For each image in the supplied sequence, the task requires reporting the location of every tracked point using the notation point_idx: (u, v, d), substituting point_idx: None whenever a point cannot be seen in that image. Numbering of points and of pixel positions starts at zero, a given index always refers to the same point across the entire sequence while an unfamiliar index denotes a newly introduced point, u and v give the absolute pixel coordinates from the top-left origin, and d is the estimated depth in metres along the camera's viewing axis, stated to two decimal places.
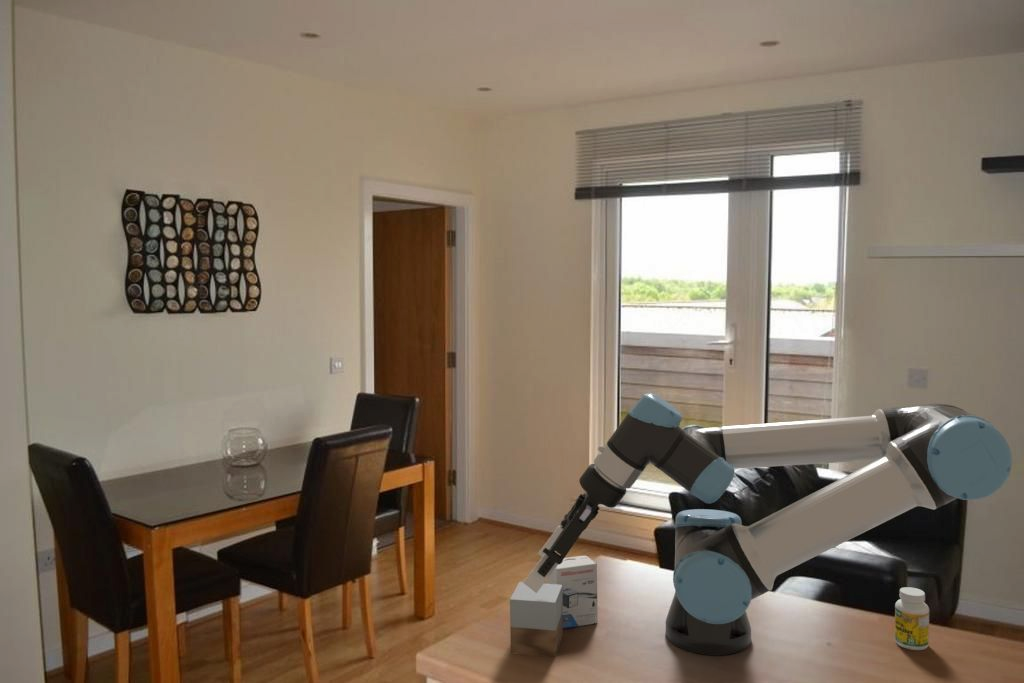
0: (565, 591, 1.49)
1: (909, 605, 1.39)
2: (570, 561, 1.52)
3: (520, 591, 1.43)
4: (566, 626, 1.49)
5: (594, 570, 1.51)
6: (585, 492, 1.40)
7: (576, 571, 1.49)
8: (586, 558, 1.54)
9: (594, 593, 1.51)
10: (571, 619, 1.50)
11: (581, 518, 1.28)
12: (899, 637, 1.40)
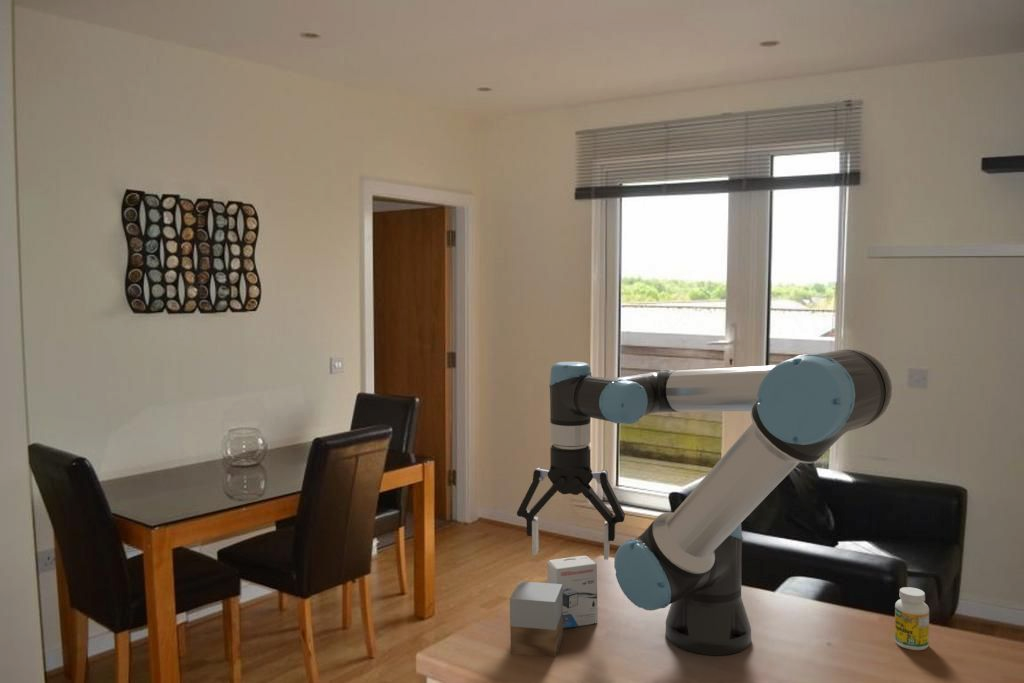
0: (565, 591, 1.49)
1: (908, 605, 1.39)
2: (570, 561, 1.52)
3: (520, 591, 1.43)
4: (566, 626, 1.49)
5: (594, 570, 1.51)
6: None
7: (576, 571, 1.49)
8: (586, 558, 1.54)
9: (594, 593, 1.51)
10: (571, 619, 1.50)
11: None
12: (899, 637, 1.40)
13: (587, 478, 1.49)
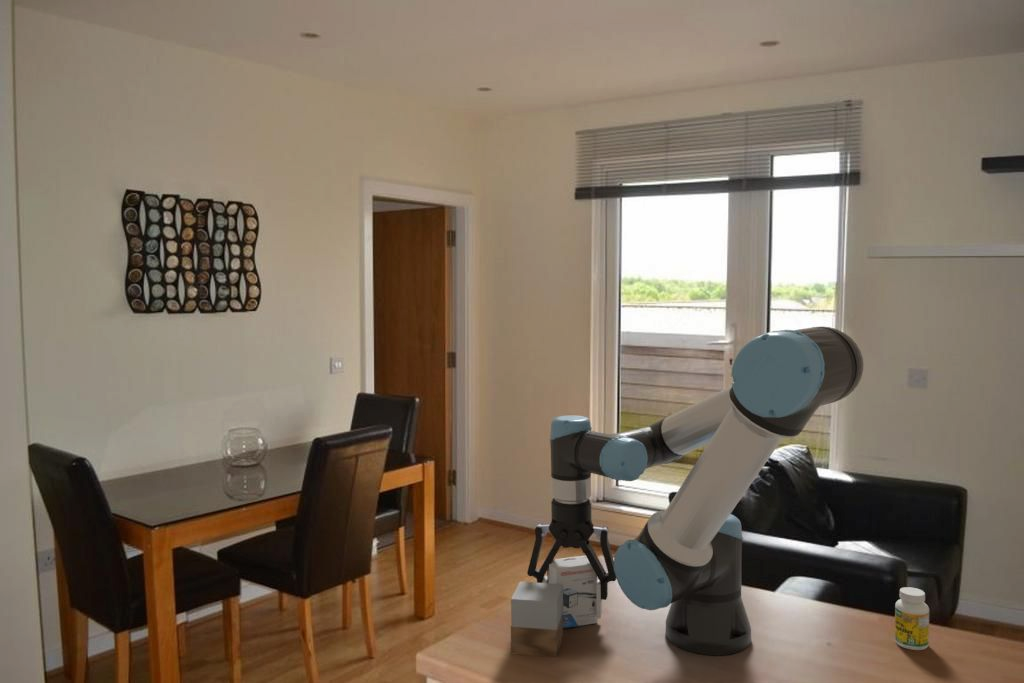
0: (565, 591, 1.49)
1: (909, 605, 1.39)
2: (570, 561, 1.52)
3: (521, 591, 1.43)
4: (566, 626, 1.49)
5: None
6: None
7: (576, 571, 1.49)
8: (586, 557, 1.54)
9: (594, 593, 1.51)
10: (571, 619, 1.50)
11: None
12: (899, 637, 1.40)
13: (588, 532, 1.49)
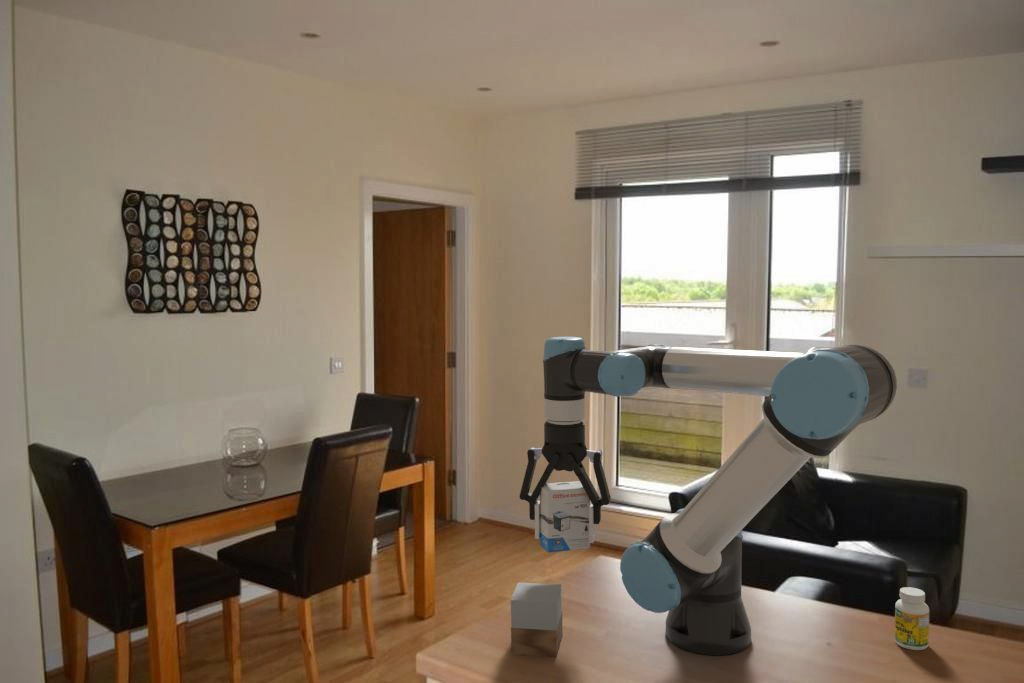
0: (557, 514, 1.46)
1: (909, 605, 1.39)
2: (563, 485, 1.49)
3: (520, 592, 1.42)
4: (558, 550, 1.47)
5: None
6: None
7: (568, 494, 1.47)
8: (580, 482, 1.51)
9: (587, 517, 1.48)
10: (563, 542, 1.47)
11: None
12: (899, 637, 1.40)
13: (581, 454, 1.47)
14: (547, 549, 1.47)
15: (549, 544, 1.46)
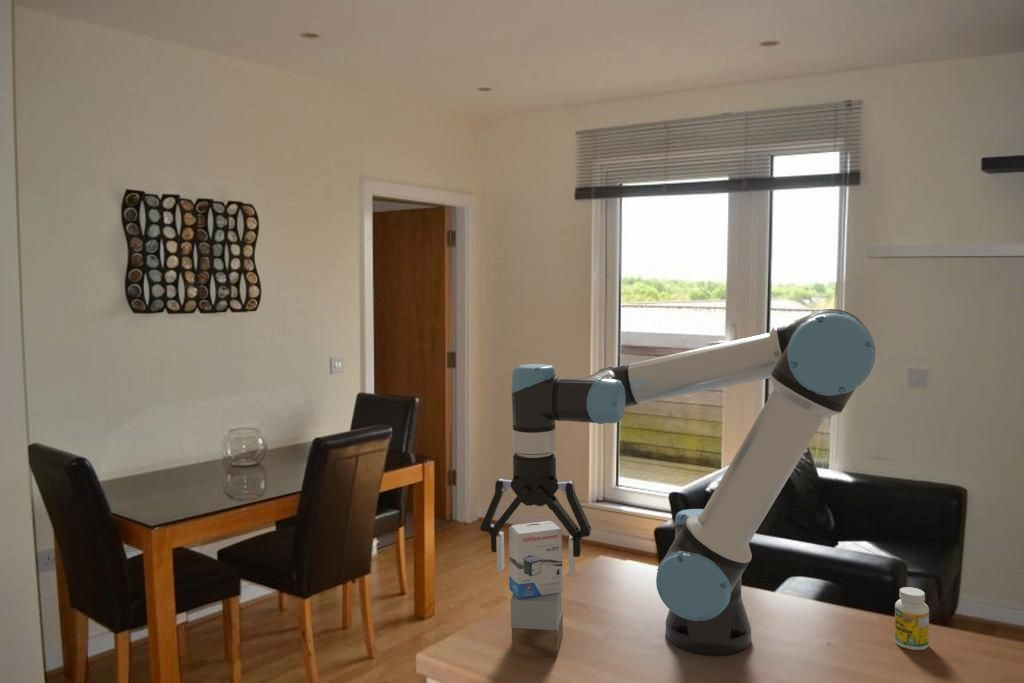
0: (527, 558, 1.39)
1: (908, 605, 1.39)
2: (533, 526, 1.42)
3: None
4: (528, 595, 1.39)
5: (559, 536, 1.41)
6: None
7: (539, 537, 1.39)
8: (551, 523, 1.43)
9: (559, 560, 1.41)
10: (534, 588, 1.40)
11: None
12: (899, 637, 1.40)
13: (552, 488, 1.39)
14: (517, 595, 1.39)
15: (519, 590, 1.39)
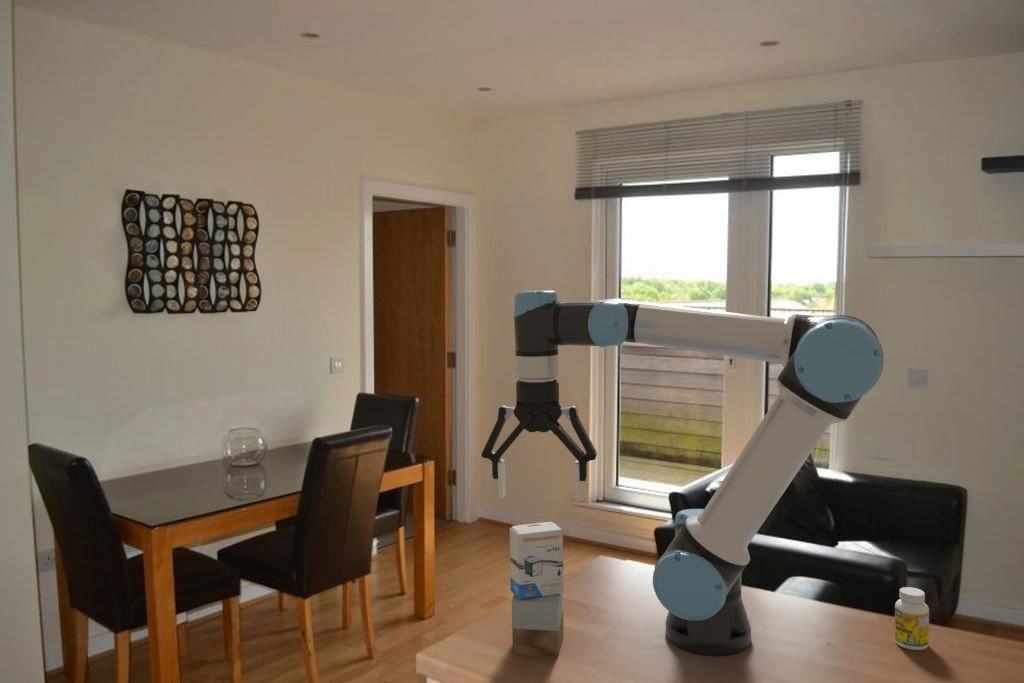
0: (528, 559, 1.39)
1: (908, 605, 1.39)
2: (534, 527, 1.42)
3: None
4: (529, 596, 1.39)
5: (560, 536, 1.40)
6: None
7: (540, 537, 1.39)
8: (552, 524, 1.43)
9: (560, 561, 1.41)
10: (535, 588, 1.39)
11: None
12: (899, 637, 1.40)
13: (556, 414, 1.39)
14: (518, 596, 1.39)
15: (520, 591, 1.39)
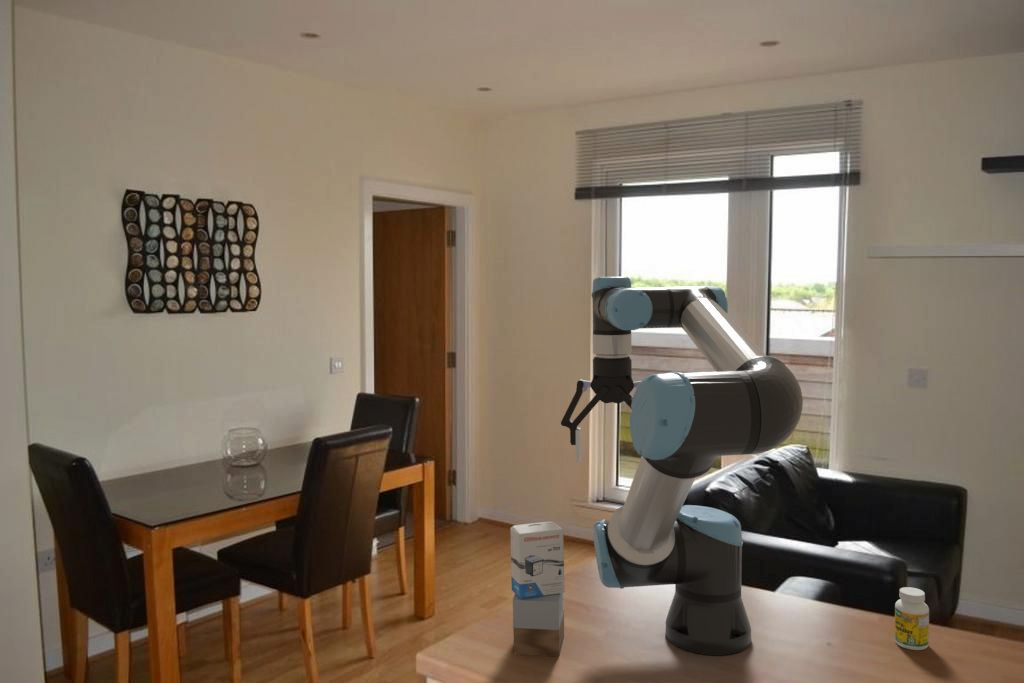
0: (528, 558, 1.39)
1: (908, 605, 1.39)
2: (535, 526, 1.42)
3: None
4: (530, 595, 1.39)
5: (560, 536, 1.41)
6: None
7: (540, 537, 1.39)
8: (553, 523, 1.44)
9: (560, 560, 1.41)
10: (535, 588, 1.40)
11: None
12: (899, 637, 1.40)
13: (629, 387, 1.55)
14: (519, 595, 1.39)
15: (521, 590, 1.39)
